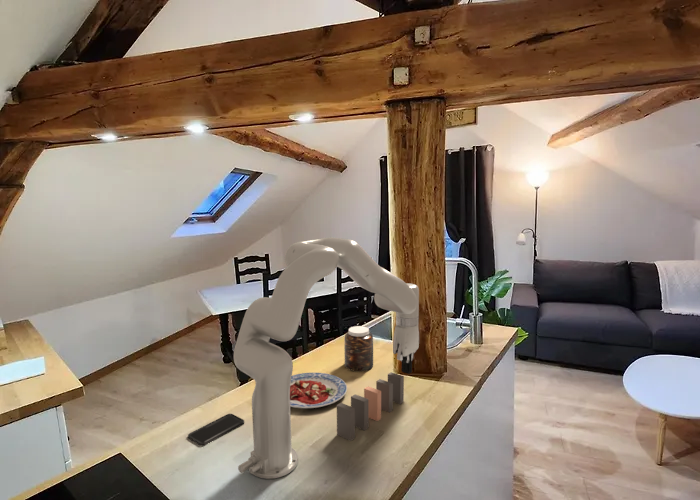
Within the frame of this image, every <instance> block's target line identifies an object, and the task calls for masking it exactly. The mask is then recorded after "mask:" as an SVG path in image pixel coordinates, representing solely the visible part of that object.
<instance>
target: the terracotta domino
mask: <svg viewBox="0 0 700 500" xmlns="http://www.w3.org/2000/svg"><path fill="white" fill-rule="evenodd" d="M363 397H364V398H367V399H368V415H369V419H371V420H373V421H376V422H379V421H380V420H381V419H382V409H381V391H380V390H377V389H376V388H374V387H371V386H369V385H368V386H366V387H364V389H363Z"/></svg>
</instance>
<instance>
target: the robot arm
mask: <svg viewBox="0 0 700 500" xmlns="http://www.w3.org/2000/svg"><path fill="white" fill-rule="evenodd" d="M284 262H285V263H284V264H285V265H286V268H284V269H283V271H282V272H281V273H280V275H279V276H278V278H277V281H276V283H275V286H274V289H273V293H272V296H271V297H265V296H264V297H258V298H257V299H255V300H254V301H253V302H251V303H250V305H249V306H248V307H247V309H246V311H245V313H244V317H243V318H242V322H241V325H240V327H239V328H240V329H239V332H238V336H237V338H236V342H235V344H234V345H235V347H234V349H233V363H234V364H235V366H236V368H237V369H238V370H239V371H240V372H242V373H244V374H245V375H247V376H249V377H250V378H251V379H253V380H254V382H255V386H254V389H253V392H252V396H251V413H252V414H251V415H252V434H253V435H252V437H253V450H251V451H250V457H249V458H248V459H247V460H246V461H243V463H241V464H239V465H238V466H237V469H238V472H239V473H240V474H243V473H245V472H246V471H248V470H249V474H251V475H254V476H255V477H257V478H260V479H265V480H266V479H267V480H271V479H276V478H277V479H278V478H282V477H284V476H286V475H288V474H289V473H291V472H292V471H294V470H295V468H297V465H298V462H299V455H298V453H297V451H296V450H295V449H294V448H293V447H292V420H291V417H292V416H291V407H290V383H291V377H292V375H293V371H294V368H293V367H294V366H293V363H294V362H293V360H292V357H291V355H290V354H289V353H288V352H287V351H286V350H285V349H284V348H282V347H280V346H279V345H276V344H274V343H272V342H270V339H273V340H276V341H279V342H287V341H291V340H292V339H293V338H294V337H295V335H296V334H297V331H298V329H299V326H300V321H301V320H302V319H301V318H302V315H303V311H304V307H305V306H306V305H305V304H306V301H307V298H308V296H309V293H310V292H311V291H310V290H311V289H312V287H313V286H314V285H315V284H317V282H319V281H320V280H322V279H323V278H325V277H327V276H330V275H331V274H332V273H333V272H334V271H335V270H336V269H337V268H339V269H340V270H342V271H343V272H344V273H345V274H346V275H347V276H349V277H350V279H352V280H353V281H354V283H356V284H357V285H358V286H359V287H360V288H362V289H364V290H366V291H368V292H370V293H373V294H374V299H373V300H374V303H375V305H376V306H377V307H378V308H380V309H383V310H386V311H390V312H394V313H395V327H394V331H393V342H392V353H393V354H394V355H396V360H398V361H400V362H401V372H402V373H405V374H409V375H410V374H411V373H412V372H413V360H414V355H415V353H416V352H417V350H418V349H419V346H420V345H419V344H420V331H419V316H420V315H419V314H420V312H419V311H420V309H419V308H420V307H419V305H420V301H419V300H420V289H419V286H418V285H417V284H414V283H410V282H409V283H406V282H405V281H404V280H403V279H401V278H400V277H399V276H396V275H395V274H393V273H392V272H390V271H388V270H387V269H385V268H384V267H382V266H380V265H379V264H378V263H377V262H376V261H375V260H374V259H373V258H372V257H371V256H370V254H369V253H368V252H366V249H364V248H363V247H362V246H361V245H360V244H359V243H358V242H357V241H355V240H352V239H348V238H340V237H331V236H330V237H321V238H318V239H309V240H301V241H297V242H294V243H292V244H291V245H289V246H288V248H287V249H286V251H285V254H284Z"/></svg>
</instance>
